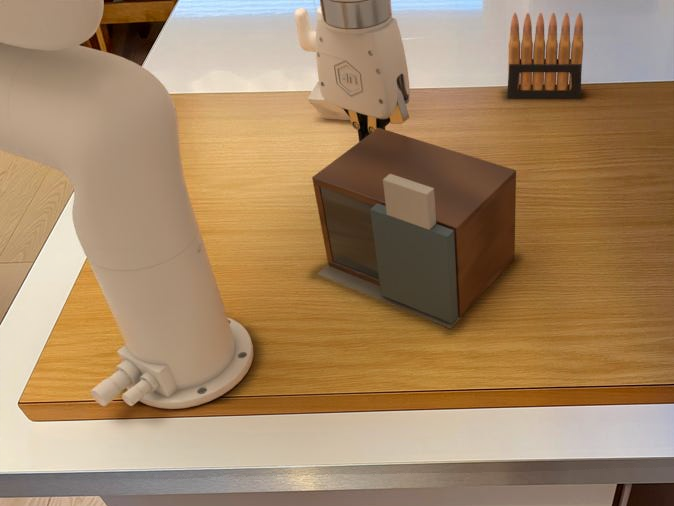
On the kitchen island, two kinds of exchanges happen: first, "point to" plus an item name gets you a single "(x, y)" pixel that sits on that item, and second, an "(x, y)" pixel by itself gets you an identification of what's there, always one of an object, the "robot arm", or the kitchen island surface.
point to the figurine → (315, 98)
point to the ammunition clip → (545, 60)
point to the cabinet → (450, 207)
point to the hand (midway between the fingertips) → (374, 156)
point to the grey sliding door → (414, 250)
